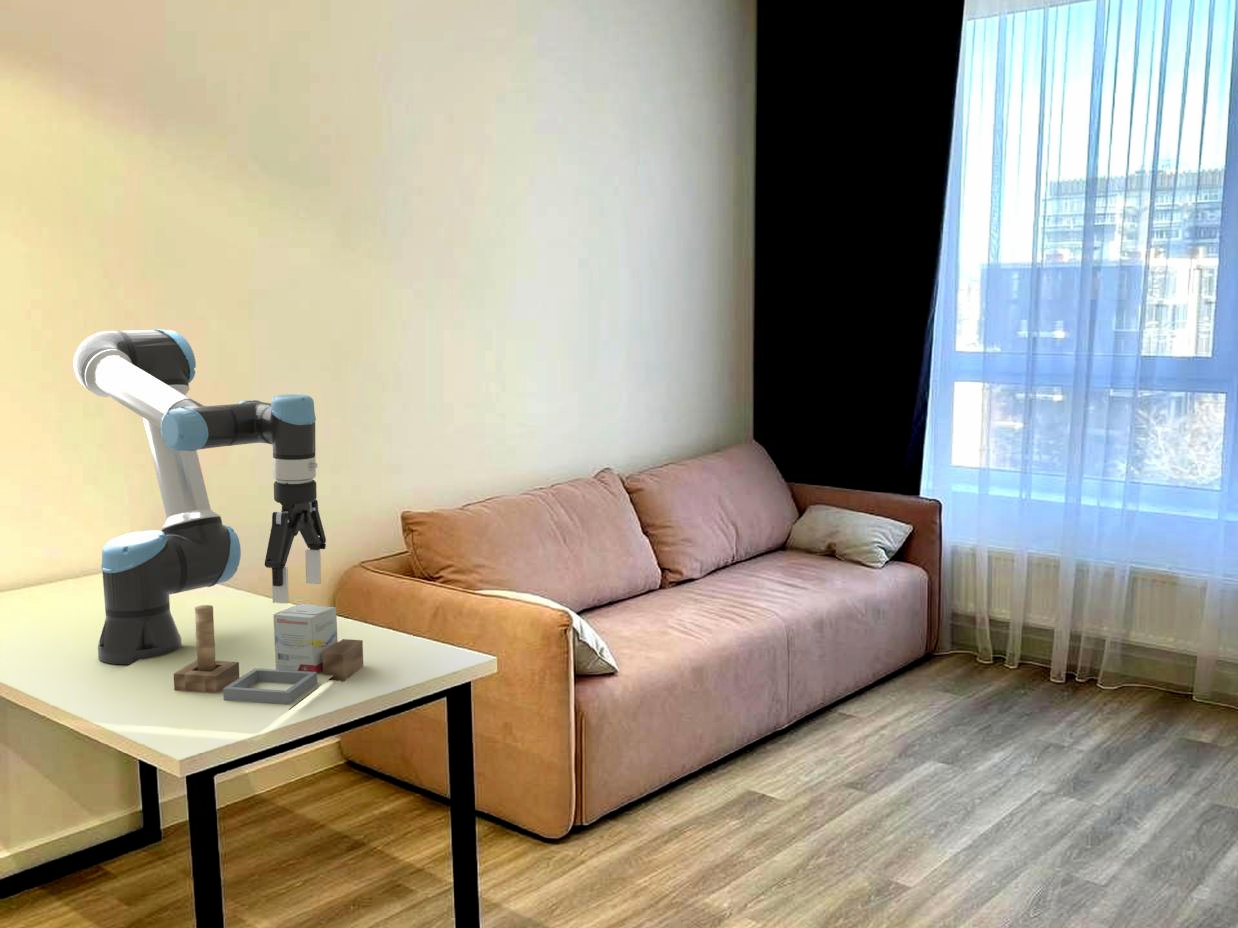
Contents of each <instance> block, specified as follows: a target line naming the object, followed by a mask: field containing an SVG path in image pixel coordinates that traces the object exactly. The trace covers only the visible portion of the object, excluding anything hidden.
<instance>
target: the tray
mask: <svg viewBox="0 0 1238 928" xmlns="http://www.w3.org/2000/svg"><path fill="white" fill-rule="evenodd" d="M239 677H240V678H239V679H237V680H236V681H234V682H232V683H231V684H229V685H228V686H226V687H225V688H223V689H222V691H223V692H222V693H223V695H222V696H223V701H233V702H244V703H248V702H250V703H260V704H261V703H262V704H263V703H264V704H273V705H274V704H276V705H277V704H278V705H290V704H292V703H294V702H295V701H296V700H298V699H299V698H300V697H301V696H303V695H304V694H305V693H307V692H308V691H309V690H311V689H312V688H313V687H315V686H316V685H317V684H318V673H317V672H306V671H290V670H276V669H272V668H271V669H270V668H256V667H254V668H252V669H251V670H249V671H247V673H245V674H242V676H239ZM258 682H260V683H261V682H262V683H277V684H292V686H290V687H289V688H288V689H286V690H285V689H284V690H283V689H267V688H266V689H265V688H254V687H251V686H253V685H254V684H256V683H258ZM317 690H318V687H316V688H315V689H313V690H312V691H311V692H310V693H309V694H307V695H305V696H304V698H302V699H301V700H299V701H298V702H297V703H295V704H294V705H293V706H291V707H290V708H289V709H288V711H289V710H291V709H293V708H294V707H295V706H296V705H298V704H299V703H300V702H302V701H304V700H305V699H306V698H307V697H308V696H310V695H312V693H314V692H315V691H317Z"/></svg>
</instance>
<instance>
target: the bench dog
mask: <svg viewBox="0 0 1238 928" xmlns="http://www.w3.org/2000/svg"><path fill="white" fill-rule="evenodd" d="M363 645H364V642H363V640H362V639H351V638H350V639H349V638H342V639H341V640H339V641H338V643H336V644H335V645H334V646H332V647H331V648H329V649H328V650H326V651H325V652H324V653H322V661H323V671H322V675H323V676H330V677H329V678H328V679H327V681H333V682H335V681H336V682H338V681H339V682H345V681H346V680H348V678H350V677H352V676H353V675H354V674H355V673H356V672H357V671H359V670H360V669H362V667H364V646H363Z"/></svg>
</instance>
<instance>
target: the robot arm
mask: <svg viewBox="0 0 1238 928" xmlns="http://www.w3.org/2000/svg"><path fill="white" fill-rule="evenodd" d="M72 361H73V371H74V373H75V376H76V379H77V380H78V381H79V383H80V384H81V385H82V386H83V387H84V388H86V389H87V390H88V391H89V392H91V393H92V394H94V395H96V396H98V397H103V398H109V397H110V398H111V399H112V400H114V401H116V402H117V403H119V404H121V405H122V406H123V407H126V408H127V409H128V410H130V411H131V412H133V413H135V414H136V415H138V416H139V417H141V418H142V419H143V420H142V421H143V424H144V429H145V432H146V437H147V441H148V445H149V449H150V454H151V458H152V462H153V465H154V470H155V475H156V479H157V483H158V486H159V491H160V495H161V499H162V504H163V508H164V512H165V515H166V517H165V518H166V521H165V523H164V525H163V526H162V527H161V529H160V530H155V529H147V530H142V531H140V530H139V531H133V532H128V533H124V534H122V535H119V536H116V537H113V538H112V539H110V540H109V541H107V542H106V544H104V546H103V547H102V552H101V564H100V565H101V566H100V569H101V572H102V583H103V584H102V585H103V595H104V596H103V597H104V609H105V613H104V614H105V618H104V619H105V620H104V623H103V626H102V630H101V634H100V637H99V641H98V644H97V657H98V660H99V661H100V662H103V663H107V664H112V665H132V664H133V665H134V663H137V662H138V661H141V660H147V659H154V658H159V657H162V656H166V655H168V654H171V653H174V652H176V651H177V650H179V649H180V648H181V647H182V637H181V634H180V632H179V630H178V626H177V624H176V622H175V620H174V618H173V615H172V613H171V605H170V604H171V602H170V596H171V595H174V594H179V593H184V592H188V591H193V590H197V589H202V588H206V587H207V588H211V587H214V586H216V585H219V584H223V583H226V582H227V581H229V580H231V579H232V578H233V577H234V575H235V574H236V573H237V571H238V568H239V566H240V562H241V555H242V552H241V550H242V549H241V541H240V539H239V536H238V533H236V532H235V530H234V529H233V527H231V526H229V525H226V524H223V521H222V516H221V515H220V514H218V513H217V512H215V511H213V510H212V509H211V503H210V501H209V496H208V491H207V488H206V484H205V480H204V475H203V472H202V467H201V463H200V459H199V455H198V451H199V450H205V449H214V448H222V447H231V446H241V445H250V444H260V443H261V444H267V445H272V475H273V479H275V481H274V483H273V499H274V501H275V502H276V503H279V504H280V505H281V511H273V512H272V514H271V517H272V518H271V529H270V534H269V539H268V543H267V548H266V553H265V559H264V566H265V567H266V568H269V569H271V584H272V585H271V588H272V589H271V590H272V591H271V592H272V603H274V604H288V603H289V600H290V599H289V598H290V597H289V567H286V563H287V562H288V558H289V554H290V551H291V549H292V545H293V542H294V538H295V537H296V536H298V534H299V533H300V535H301V536H302V539H303V541H304V543H305V544H306V546H307V549H305V551H304V553H305V554H304V555H305V557H304V558H305V583H306V584H311V585H312V584H313V585H320V584H321V583H322V572H321V571H322V568H321V567H322V566H321V565H322V563H321V562H322V561H321V550H326V547H327V545H326V542H327V538H326V535H325V530H324V528H323V527H324V526H323V524H322V520H321V516H320V512H319V511H320V510H319V503H318V499H317V494H318V493H317V482H316V481H315V478H316V477H317V475H316V474H317V473H316V472H317V471H316V469H317V468H318V463H317V462H316V452H317V451H316V448H317V447H316V421H317V417H316V413H315V402H314V401H315V400H314V399H313V397H311V396H310V395H305V394H279V395H274V397H272V398H271V403H270V402H264V401H260V400H256V399H254V400H240V401H239V402H237V403H233V404H219V405H218V404H217V405H203V404H201V403H200V402H198V401H196V400H194V399H192V398H191V397H189V396H188V395H187V394H188V393H189V391H190V390H191V389H190V383H191V382H192V381H193V380H194V378H195V376H196V370H195V368H197V367H196V366H197V363H196V362H197V361H196V357H195V353H194V351H193V348H192V345H190V343H189V341H188V340H187V339H186V337H184V335H182V334H180V333H179V332H177V331H174V330H171V329H169V330H168V329H167V330H166V329H160V328H152V329H143V330H141V329H139V330H138V329H137V330H135V329H134V330H105V331H99V332H96V333H94V334H92V335H90V336H88V337H87V338H85V339H84V340H83V341H82V342H81V343H80V344H79V346H78V347H77V350H76V352H75V353H74V356H73V360H72Z"/></svg>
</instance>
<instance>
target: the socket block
mask: <svg viewBox="0 0 1238 928" xmlns="http://www.w3.org/2000/svg"><path fill="white" fill-rule="evenodd" d="M215 663H216V669H215V670H213V671H211V672H208V671H198V663H197V659H196V660H195V661H193V662H192V663H190V664H188V665H186V666H184V667H183V668H181V669H179V670H177V671H176V672H173V689H174V691H177V692H178V691H179V692H180V691H181V692H193V693H209V694H218V693H219V692H221V691H223V688H225V687H226V686H228V685H229V684H231V683H232V682H234V681H236V680H237V679H239V678H240V677H241V676H240V662H239V661H228V660H215Z"/></svg>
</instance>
